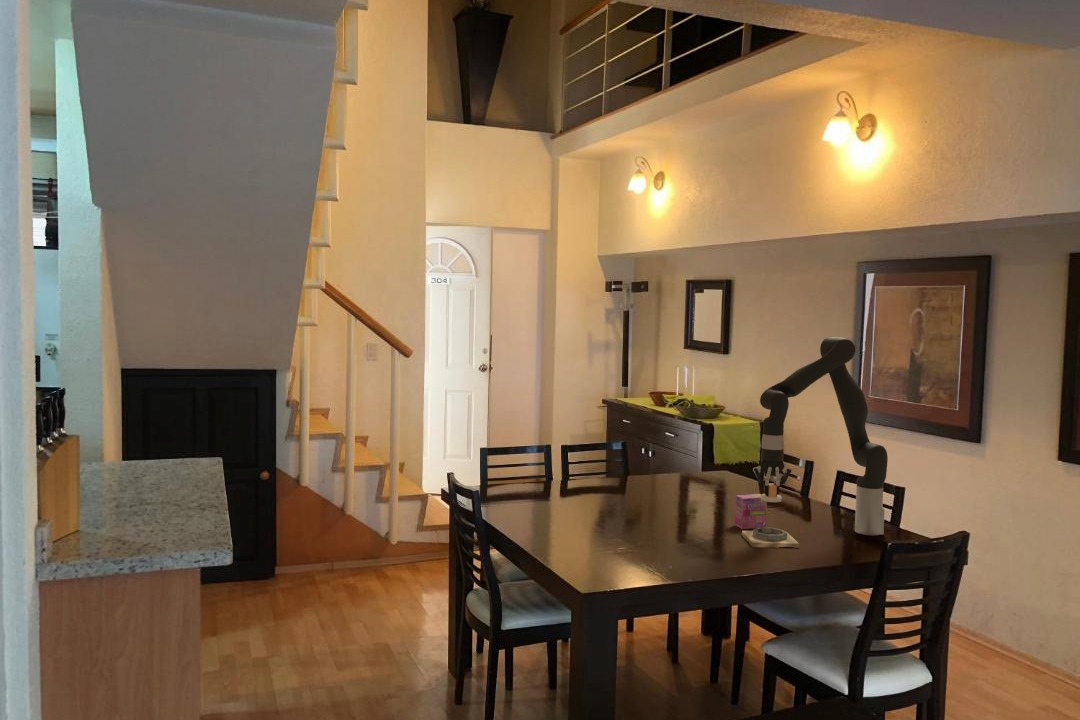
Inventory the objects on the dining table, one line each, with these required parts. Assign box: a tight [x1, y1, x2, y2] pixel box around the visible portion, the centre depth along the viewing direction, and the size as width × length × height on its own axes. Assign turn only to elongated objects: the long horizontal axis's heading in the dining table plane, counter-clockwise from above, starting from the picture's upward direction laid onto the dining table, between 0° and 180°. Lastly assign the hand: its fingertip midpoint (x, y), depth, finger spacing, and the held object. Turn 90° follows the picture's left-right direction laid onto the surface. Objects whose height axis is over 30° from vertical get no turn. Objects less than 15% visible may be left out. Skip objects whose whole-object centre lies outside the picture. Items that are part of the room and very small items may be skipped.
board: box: [741, 530, 800, 549], centre depth 304 cm, size 16×16×2 cm
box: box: [734, 493, 768, 530], centre depth 324 cm, size 10×6×12 cm, turn 105°
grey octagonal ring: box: [752, 526, 788, 541], centre depth 304 cm, size 11×11×2 cm
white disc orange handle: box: [761, 482, 782, 503], centre depth 303 cm, size 7×7×6 cm
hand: (771, 495), depth 303 cm, fingers closed on white disc orange handle, 2 cm apart
